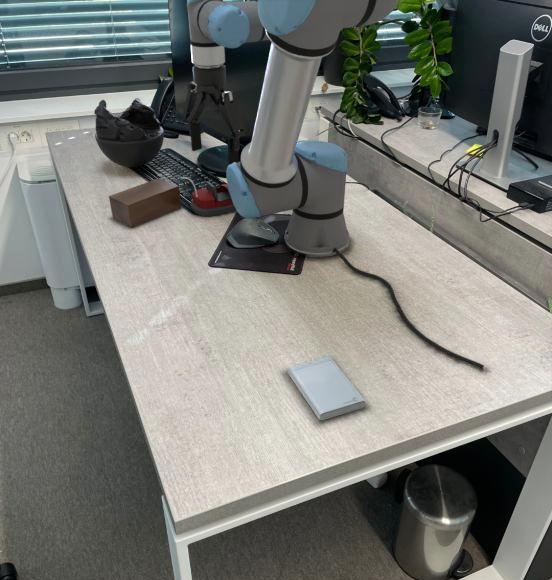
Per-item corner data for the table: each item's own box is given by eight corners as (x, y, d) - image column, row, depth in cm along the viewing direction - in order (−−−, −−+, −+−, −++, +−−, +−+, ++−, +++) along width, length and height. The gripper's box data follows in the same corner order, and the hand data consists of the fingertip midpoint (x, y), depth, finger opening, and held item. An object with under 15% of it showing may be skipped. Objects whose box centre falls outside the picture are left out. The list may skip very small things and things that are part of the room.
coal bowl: (180, 161, 179) (174, 97, 168) (136, 182, 166) (125, 115, 154) (133, 149, 188) (123, 88, 176) (87, 169, 174) (73, 104, 163)
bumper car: (260, 205, 154) (259, 168, 148) (191, 222, 146) (187, 184, 140) (243, 192, 161) (242, 156, 154) (176, 208, 153) (172, 171, 146)
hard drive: (365, 400, 92) (330, 354, 101) (319, 414, 90) (287, 366, 99) (364, 407, 93) (329, 362, 102) (319, 421, 91) (287, 374, 100)
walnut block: (181, 207, 153) (178, 185, 149) (131, 227, 144) (127, 205, 140) (162, 199, 157) (159, 177, 154) (112, 218, 148) (108, 196, 144)
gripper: (259, 70, 127) (261, 164, 141) (185, 53, 141) (193, 140, 154) (235, 77, 123) (239, 173, 136) (161, 58, 136) (171, 148, 150)
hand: (214, 156), depth 145 cm, fingers open, 13 cm apart
